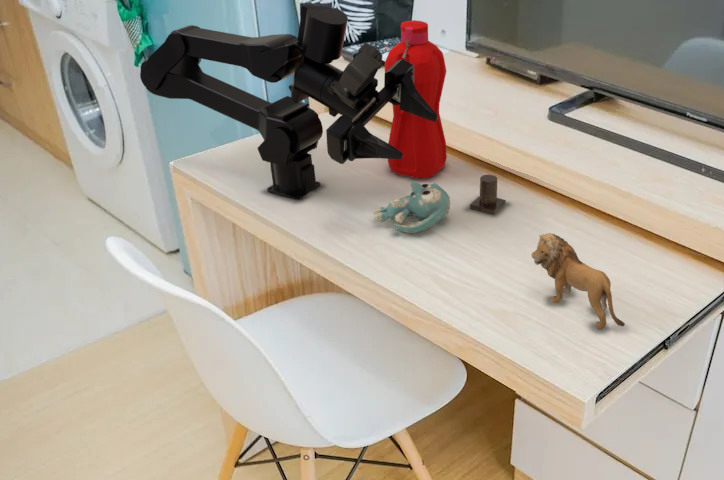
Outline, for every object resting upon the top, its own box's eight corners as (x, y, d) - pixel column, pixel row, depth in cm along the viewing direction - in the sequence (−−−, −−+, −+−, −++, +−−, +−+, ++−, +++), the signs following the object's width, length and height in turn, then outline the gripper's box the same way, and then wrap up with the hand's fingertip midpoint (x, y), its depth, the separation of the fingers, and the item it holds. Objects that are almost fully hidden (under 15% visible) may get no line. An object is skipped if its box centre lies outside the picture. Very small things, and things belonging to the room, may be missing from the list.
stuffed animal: (365, 177, 124) (439, 159, 125) (376, 216, 128) (448, 199, 129) (370, 208, 116) (449, 190, 116) (381, 249, 120) (458, 231, 121)
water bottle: (377, 177, 136) (368, 28, 122) (406, 154, 145) (401, 11, 130) (425, 188, 134) (422, 36, 119) (452, 163, 142) (452, 19, 127)
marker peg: (469, 208, 128) (470, 180, 125) (481, 198, 131) (482, 170, 128) (494, 215, 127) (495, 186, 124) (505, 204, 130) (507, 176, 127)
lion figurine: (522, 294, 108) (526, 237, 103) (545, 279, 111) (550, 222, 106) (613, 337, 101) (622, 278, 95) (635, 320, 104) (645, 261, 99)
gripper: (288, 82, 106) (383, 137, 104) (369, 10, 115) (459, 59, 113) (294, 139, 116) (382, 190, 113) (369, 68, 125) (452, 115, 122)
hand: (419, 137), depth 115 cm, fingers open, 9 cm apart
